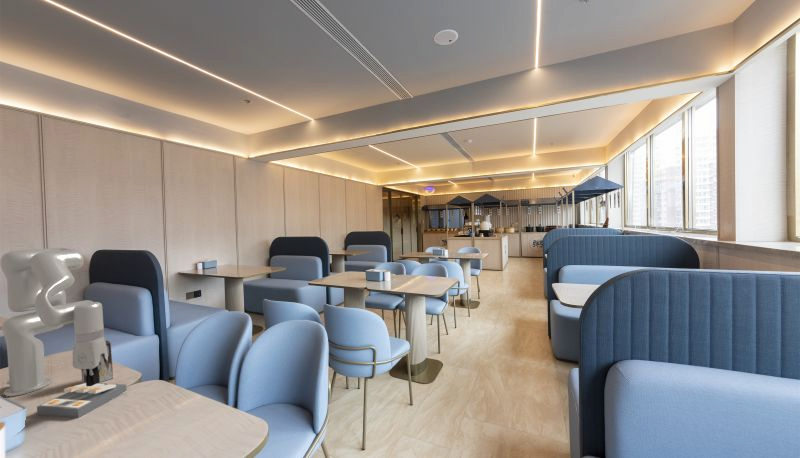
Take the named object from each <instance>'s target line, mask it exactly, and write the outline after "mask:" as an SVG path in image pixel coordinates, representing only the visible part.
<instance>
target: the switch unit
mask: <svg viewBox="0 0 800 458" xmlns="http://www.w3.org/2000/svg"><path fill="white" fill-rule="evenodd" d="M97 384H104V385H108V384H109V383H104V382H100V383H97ZM114 384H115V385H116V387H115V388H112V389H109V390H105V391H102V392H99V393H96V394H94V393H88V392H84V393H78V392H76V391H73V392H64V394H61V395H59V396H57V397H55V398H52V399H50V400H48V401H46V402H44V403H41V404H39V405H38V406H36V411H37V412H36V415H38V416H53V417H63V418H78V419H79V418H81V417H83V416H84V415H86V414H87V415H88V414H89V413H90V412H93V411H94V410H96V409H98V408H99V406H100V407H102V406H103V405H105V404H107V403H109V402H110V400H111V401H112V399H113V398H114V399H116V398H118V397H120V396H121V395H120V394H122V393H123V392H125V391H126V390H127V388H128V387H127V384H121V383H114ZM127 391H128V390H127ZM119 395H120V396H119ZM122 395H123V394H122ZM117 396H118V397H117ZM115 397H116V398H115ZM114 399H113V400H114Z"/></svg>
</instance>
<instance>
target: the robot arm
mask: <svg viewBox="0 0 800 458" xmlns="http://www.w3.org/2000/svg"><path fill="white" fill-rule="evenodd" d="M84 260H85V258H84V256H83V254H82V253H81V252H79V251H78V250H76V249H71V248H66V247H65V248H64V247H50V248H49V247H48V248H32V249H19V250H12V251H8V252H6V253H3V255H2V256H1V257H0V269H1V271H2V273H3V275H4V276H5V279H6V283H7V307H8V309H9V310H10V312H13V313H23V312H28V311H32V312H29V313H23V314H18V315H15V316H12V317H9V318H8V319H6V320H4V322H3V323H2V325H1V330H2V331H1V332H2V334H3V336H4V340H5V343H6V349H7V350H6V351H7V364H8V365H7V367H8V368H7V369H8V381H7V382H6V385H9V387H8V388H7V389H6V390H5V391H3V396H4V395H6V396H5V397H8V396H9V397H17V396H21V395H26V394H29V393H33V392H35V391H38V390H40V389H43V388H45V387H47V386H48V385H50V384H51V383H52V378H49V377H46V364H45V362H46V361H45V347H44V342H43V341H42V339H39V338H37V337H35V336H36V335H39V334H43V333H46V332H47V333H48V332H51V331H54V330H58V329H60V328H62V327H64V326H65V325H70V324H73V326H74V327H73V329H74V343H73V347H72V367H73V368H74V369H78V370H83V371H84V375H85V376H86V375H87V376H86V386H93V385H95V384H97V383H99V382H100V378H99V372H100V370H102V369H104V368H106V366H105V363H107V361H108V353H107V346H106V342H105V341H106V338H105V329H104V328H105V327H104V314H103V313H104V311H103V304H102V303H101V302H99V301H93V300H89V299H88V300H85V299H84V300H80V301H79V300H78V301H75V302H69V303H67V296H66V291H65V290H67V289H69V288H70V287H72V285H73V284H75V280H76V278H75V277H74V276H73V274H72V272H71V270H77V269H80V268H82V267H83V266H84V264H85V262H84ZM34 310H35V311H34ZM100 383H101V382H100Z"/></svg>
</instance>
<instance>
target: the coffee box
mask: <svg viewBox="0 0 800 458" xmlns="http://www.w3.org/2000/svg"><path fill="white" fill-rule="evenodd" d="M105 342H106V346H107V353H108V361H107V363H105V366H106V368H104V369H102V370H100V372H99V378H100V382H99V383H104V382H105V381H108V380H112V379H113V378H114V371H113V368H114V367H113V355H112V345H111V341H110V340H105ZM80 370H81V369H80ZM86 376H87V375H86ZM86 376H85V375H84V371H83V370H81V384H84V383H86Z"/></svg>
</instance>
